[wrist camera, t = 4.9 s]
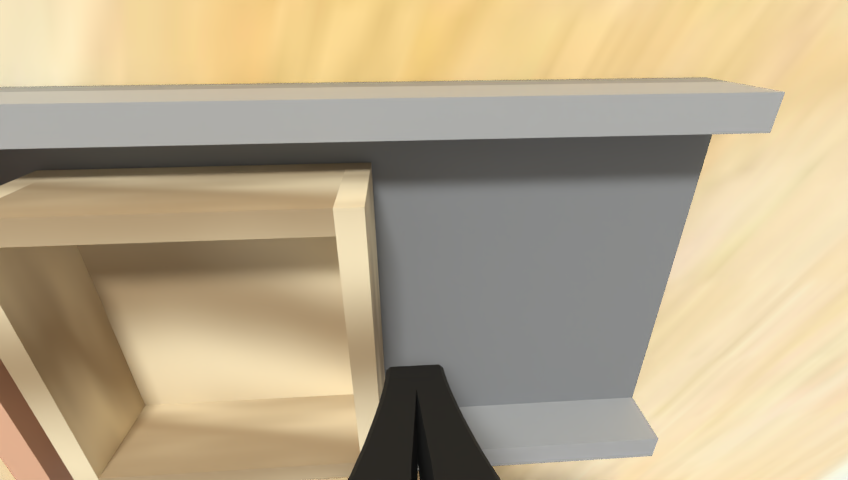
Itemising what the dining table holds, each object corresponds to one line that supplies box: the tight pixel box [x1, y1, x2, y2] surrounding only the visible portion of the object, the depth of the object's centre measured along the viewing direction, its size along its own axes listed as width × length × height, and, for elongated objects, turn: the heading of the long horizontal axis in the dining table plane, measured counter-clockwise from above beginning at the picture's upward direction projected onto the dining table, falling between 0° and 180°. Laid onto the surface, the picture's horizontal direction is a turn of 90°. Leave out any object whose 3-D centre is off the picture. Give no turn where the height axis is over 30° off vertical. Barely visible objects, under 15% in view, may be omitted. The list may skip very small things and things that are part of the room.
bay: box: [0, 78, 785, 480], centre depth 14 cm, size 14×22×4 cm, turn 90°
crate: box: [0, 163, 385, 480], centre depth 13 cm, size 9×9×3 cm
